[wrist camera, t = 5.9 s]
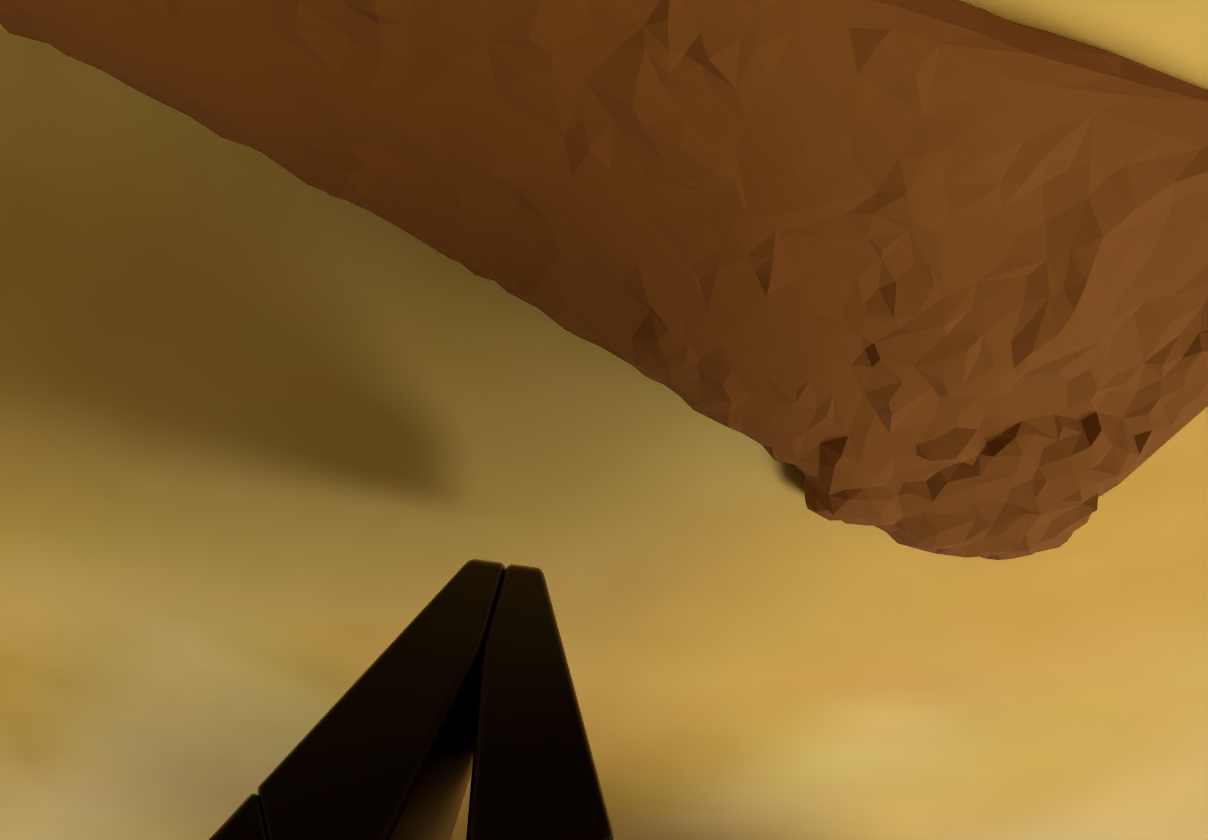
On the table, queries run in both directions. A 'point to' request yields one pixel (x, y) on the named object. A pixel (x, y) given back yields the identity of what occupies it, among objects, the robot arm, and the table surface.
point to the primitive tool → (765, 214)
